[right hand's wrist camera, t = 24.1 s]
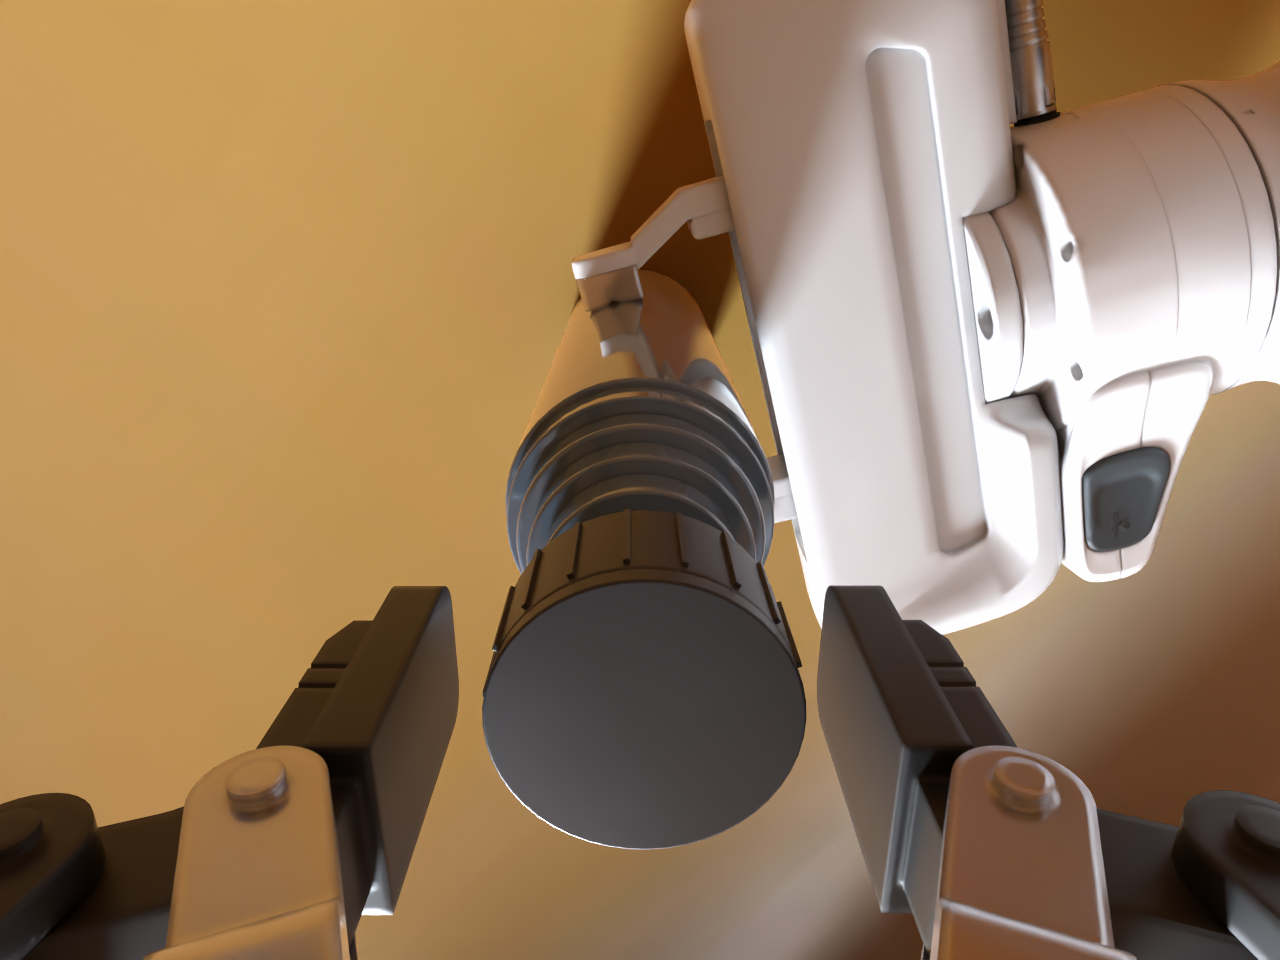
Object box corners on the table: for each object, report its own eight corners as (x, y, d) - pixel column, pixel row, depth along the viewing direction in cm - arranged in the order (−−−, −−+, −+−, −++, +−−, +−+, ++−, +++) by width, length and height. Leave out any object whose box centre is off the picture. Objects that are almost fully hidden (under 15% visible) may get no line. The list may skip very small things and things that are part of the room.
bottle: (645, 238, 30) (673, 414, 9) (735, 349, 32) (930, 713, 11) (537, 332, 32) (350, 672, 11) (629, 434, 33) (621, 911, 12)
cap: (809, 712, 13) (841, 812, 11) (552, 774, 13) (538, 882, 11) (747, 471, 11) (770, 537, 9) (462, 549, 12) (427, 627, 10)
